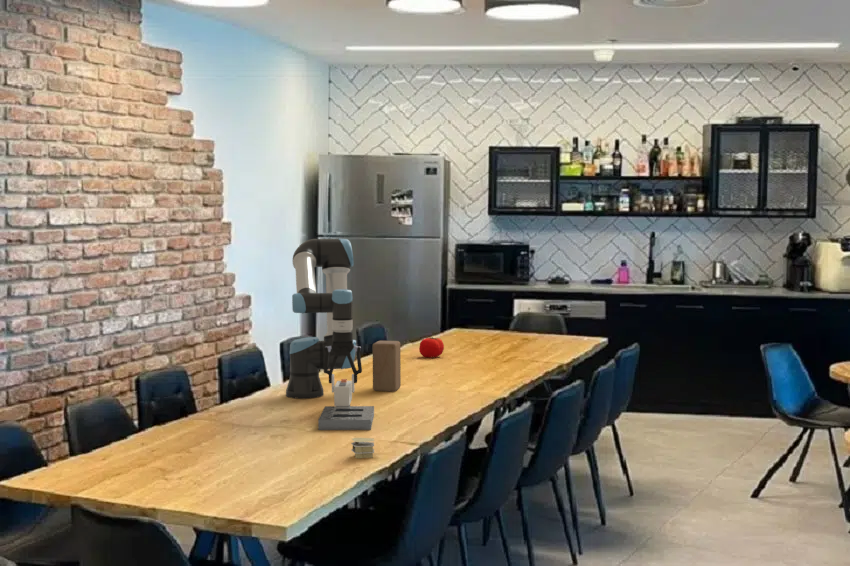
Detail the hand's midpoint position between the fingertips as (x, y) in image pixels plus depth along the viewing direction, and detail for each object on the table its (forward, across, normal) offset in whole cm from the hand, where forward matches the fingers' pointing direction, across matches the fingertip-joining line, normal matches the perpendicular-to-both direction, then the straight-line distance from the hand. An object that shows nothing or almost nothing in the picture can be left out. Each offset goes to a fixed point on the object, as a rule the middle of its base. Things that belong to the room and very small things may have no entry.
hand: (343, 391), depth 391 cm
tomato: (+8, +34, +134) cm, 139 cm away
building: (+8, +11, -70) cm, 71 cm away
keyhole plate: (+7, +3, -21) cm, 22 cm away
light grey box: (+7, 0, 0) cm, 7 cm away
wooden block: (+7, +15, +44) cm, 47 cm away
